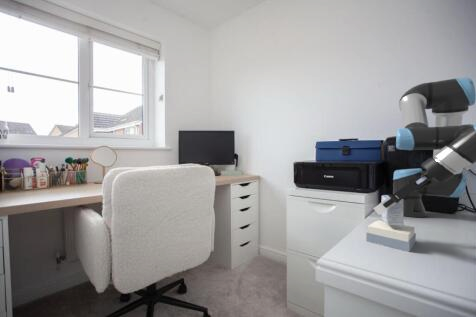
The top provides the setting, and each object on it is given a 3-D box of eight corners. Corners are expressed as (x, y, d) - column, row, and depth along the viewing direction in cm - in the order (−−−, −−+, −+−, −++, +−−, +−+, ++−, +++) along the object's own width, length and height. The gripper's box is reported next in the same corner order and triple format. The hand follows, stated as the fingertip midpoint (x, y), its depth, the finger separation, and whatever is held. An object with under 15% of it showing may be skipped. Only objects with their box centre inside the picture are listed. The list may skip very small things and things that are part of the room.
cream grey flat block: (376, 233, 83) (376, 219, 83) (415, 241, 74) (415, 226, 74) (366, 240, 74) (366, 226, 74) (409, 251, 66) (409, 235, 66)
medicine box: (403, 226, 70) (404, 199, 70) (387, 225, 71) (387, 198, 71) (395, 220, 77) (396, 195, 77) (380, 218, 79) (381, 194, 79)
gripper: (454, 176, 56) (380, 225, 67) (457, 173, 71) (396, 213, 82) (427, 155, 60) (361, 204, 71) (435, 156, 74) (380, 197, 86)
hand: (380, 209), depth 77 cm, fingers closed on medicine box, 9 cm apart
